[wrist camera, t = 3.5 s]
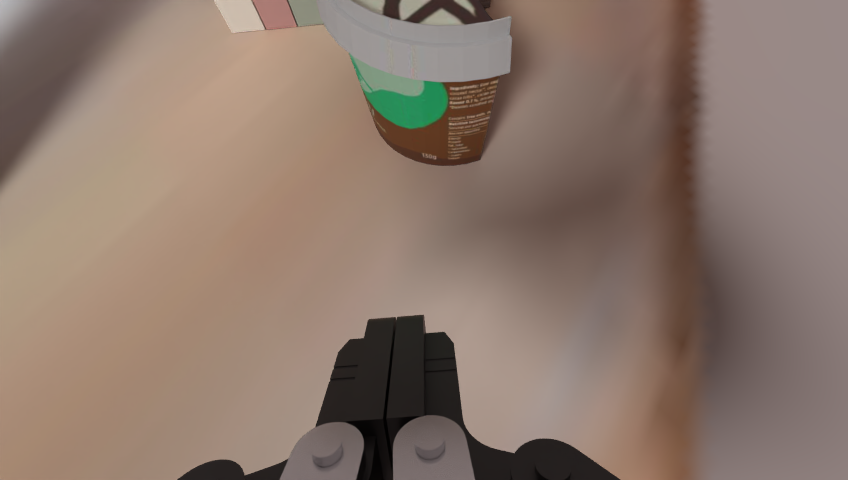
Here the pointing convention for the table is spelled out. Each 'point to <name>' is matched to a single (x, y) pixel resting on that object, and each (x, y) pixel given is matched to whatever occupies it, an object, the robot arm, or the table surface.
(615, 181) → the table surface
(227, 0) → the row of books
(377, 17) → the food container
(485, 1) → the bookend
